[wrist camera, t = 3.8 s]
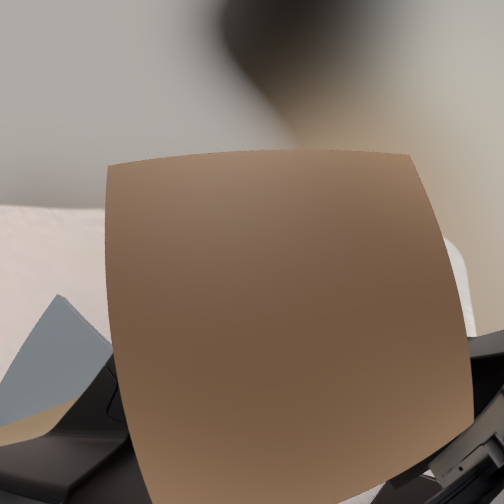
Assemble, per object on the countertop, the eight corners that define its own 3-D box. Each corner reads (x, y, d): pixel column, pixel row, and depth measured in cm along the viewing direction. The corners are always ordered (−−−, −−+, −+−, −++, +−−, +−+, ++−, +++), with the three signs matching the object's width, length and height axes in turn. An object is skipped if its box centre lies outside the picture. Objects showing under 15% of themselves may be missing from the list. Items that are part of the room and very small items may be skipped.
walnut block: (273, 375, 15) (473, 422, 3) (193, 389, 14) (167, 537, 2) (258, 298, 16) (408, 154, 4) (179, 309, 15) (108, 165, 3)
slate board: (287, 463, 13) (293, 471, 12) (176, 571, 9) (175, 581, 8) (64, 297, 14) (55, 293, 13) (-14, 427, 10) (-24, 429, 9)
